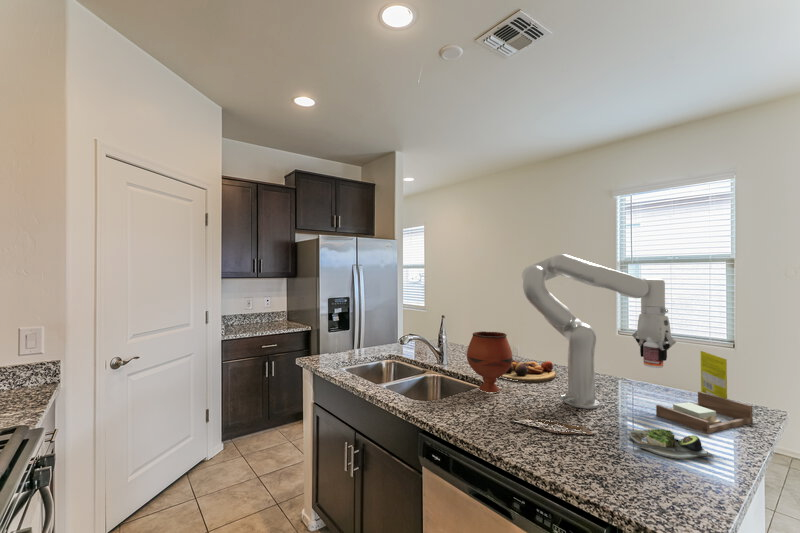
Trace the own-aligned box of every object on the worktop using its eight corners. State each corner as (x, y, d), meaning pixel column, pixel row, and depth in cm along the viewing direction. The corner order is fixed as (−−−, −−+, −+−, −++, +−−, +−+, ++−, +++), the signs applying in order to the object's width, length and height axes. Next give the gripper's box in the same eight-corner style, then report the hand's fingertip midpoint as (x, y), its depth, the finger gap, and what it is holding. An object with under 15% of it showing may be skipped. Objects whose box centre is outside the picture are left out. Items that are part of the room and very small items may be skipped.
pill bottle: (665, 369, 133) (665, 339, 133) (646, 367, 135) (645, 337, 136) (660, 365, 139) (660, 336, 139) (641, 363, 141) (641, 335, 141)
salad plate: (656, 465, 97) (656, 448, 97) (612, 435, 115) (612, 420, 115) (723, 462, 99) (723, 445, 99) (669, 433, 116) (669, 419, 116)
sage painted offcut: (699, 418, 117) (699, 413, 117) (673, 408, 125) (673, 404, 125) (716, 415, 119) (716, 411, 119) (689, 406, 127) (689, 402, 127)
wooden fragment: (594, 429, 119) (593, 426, 119) (594, 443, 110) (594, 439, 110) (513, 415, 131) (513, 412, 131) (507, 427, 121) (507, 423, 121)
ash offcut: (705, 423, 116) (704, 418, 116) (670, 413, 125) (670, 408, 125) (716, 418, 120) (716, 414, 120) (682, 409, 129) (682, 404, 129)
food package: (729, 415, 131) (728, 359, 131) (725, 414, 131) (724, 359, 132) (702, 400, 146) (702, 350, 146) (699, 400, 146) (699, 350, 147)
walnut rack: (707, 438, 112) (706, 415, 112) (656, 419, 127) (656, 399, 127) (752, 426, 121) (752, 405, 121) (700, 410, 135) (699, 391, 135)
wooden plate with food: (556, 370, 192) (556, 354, 193) (554, 386, 163) (554, 368, 164) (495, 365, 206) (494, 350, 206) (483, 379, 177) (483, 362, 177)
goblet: (521, 391, 156) (521, 333, 157) (494, 402, 144) (494, 338, 144) (484, 381, 171) (484, 328, 171) (457, 390, 158) (457, 332, 159)
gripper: (684, 313, 131) (684, 363, 130) (637, 308, 147) (638, 353, 147) (670, 313, 128) (670, 364, 128) (624, 309, 144) (624, 354, 144)
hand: (653, 358), depth 137 cm, fingers closed on pill bottle, 6 cm apart
